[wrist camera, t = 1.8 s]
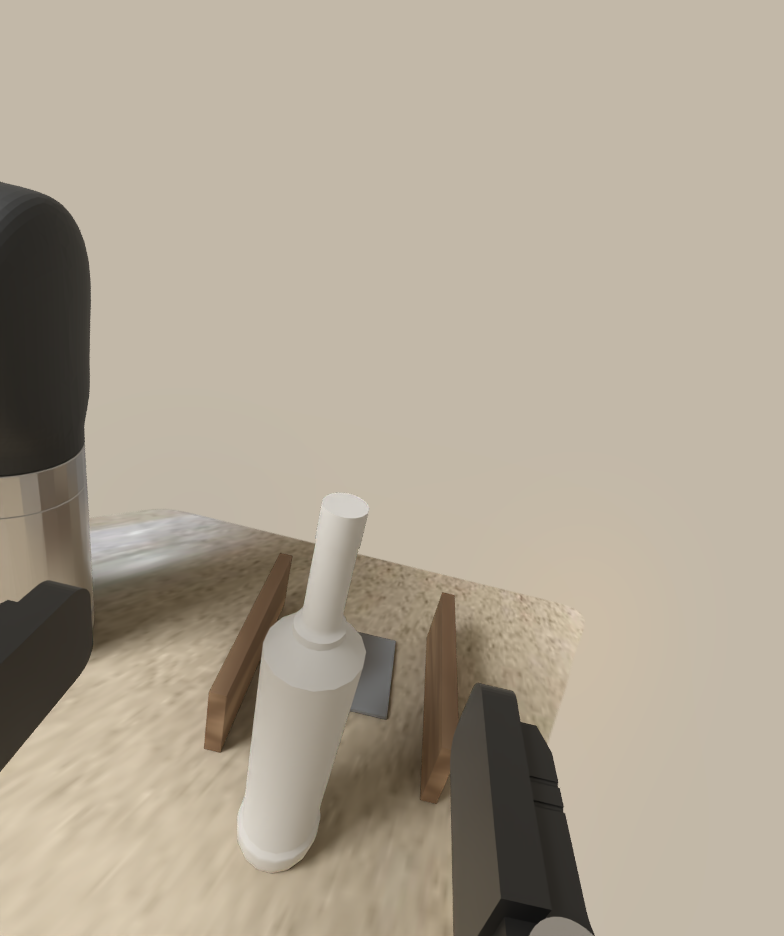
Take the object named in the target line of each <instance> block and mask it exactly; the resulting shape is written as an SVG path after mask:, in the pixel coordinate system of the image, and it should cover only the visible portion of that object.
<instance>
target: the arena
mask: <svg viewBox="0 0 784 936" xmlns="http://www.w3.org/2000/svg"><path fill="white" fill-rule="evenodd" d="M291 561H292V556H290V555H286V554H282V553H280V554H279V556H278V558H277V560H276V562H275V564H274V566H273V568H272V570H271V572H270V574H269V576H268V578H267V580H266V582H265V584H264V586H263V588H262V590H261V591H260V593H259V595H258V597H257V599H256V601H255V603H254V605H253V607H252V609H251V611H250V613H249V615H248V617H247V619H246V621H245V623H244V625H243V627H242V629H241V631H240V632H239V634H238V636H237V638H236V640H235V642H234V644H233V646H232V648H231V650H230V652H229V654H228V656H227V658H226V660H225V662H224V664H223V666H222V668H221V670H220V671H219V673H218V675H217V677H216V679H215V681H214V683H213V685H212V687H211V689H210V691H209V697H208V709H207V720H206V732H205V743H204V749H208V750H212V751H216V752H221V750H222V747H223V745H224V743H225V740H226V738H227V736H228V734H229V731H230V729H231V727H232V724H233V722H234V720H235V717H236V715H237V713H238V710H239V708H240V706H241V703H242V701H243V699H244V696H245V694H246V692H247V689H248V687H249V685H250V682H251V680H252V678H253V675H254V673H255V671H256V668H257V666H258V664H259V662H260V659H261V656H262V648H263V642H264V640H265V637H266V635H267V633H268V631H269V629H270V627H272V626H273V625H274V624H275V623H276V622H277V620H278V617H279V615H280V613H281V610H282V608H283V606H284V603H285V598H286V592H287V586H288V580H289V574H290V568H291ZM358 633H359V634H360V635H361V637H362V640H363V643H364V647H365V650H366V655H365V660H364V665H363V669H362V672H361V676H360V679H359V682H358V685H357V689H356V692H355V695H354V698H353V702H352V705H351V708H350V711H352V712H356V713H361V714H365V715H369V716H373V717H377V718H381V719H386V718H387V712H388V703H389V695H390V686H391V678H392V669H393V660H394V652H395V643H396V641H394V640H390V639H385V638H381V637H377V636H373V635H369V634H365V633H361V632H358ZM458 722H459V721H458V689H457V658H456V626H455V595H451V594H447V593H443V592H442V595H441V598H440V601H439V604H438V607H437V609H436V612H435V615H434V618H433V621H432V624H431V627H430V630H429V633H428V636H427V644H426V669H425V694H424V719H423V744H422V768H421V793H420V800H423V801H427V802H431V803H435V804H436V803H437V801H438V799H439V797H440V794H441V792H442V790H443V788H444V785H445V783H446V781H447V779H448V776H449V774H450V756H451V747H452V741H453V736H454V733H455V730H456V727H457V725H458Z"/></svg>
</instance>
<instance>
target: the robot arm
mask: <svg viewBox="0 0 784 936" xmlns="http://www.w3.org/2000/svg"><path fill="white" fill-rule="evenodd" d="M90 289H91V286H90V271H89V261H88V256H87V252H86V247H85V243H84V240H83V237H82V235H81V232H80V230H79V227H78V226H77V224H76V222H75V220H74V219H73V217H72V216H71V214H70V213H69V212H68V211H67V210H66V209H65V208H64V206H63V205H62V204H60V203H59V202H57V201H56V200H54V199H53V198H51V197H49V196H47V195H45V194H42V193H40V192H37V191H34V190H30V189H27V188H23V187H19V186H15V185H10V184H6V183H3V182H0V772H1V770H2V769H3V768H4V767H5V765H6V764H7V763H8V762H9V761H10V759H11V758H12V757H13V756H14V755H15V753H16V752H17V751H18V750H19V748H20V747H21V746H22V745H23V744H24V742H25V741H26V740H27V739H28V738H29V736H30V735H31V734H32V733H33V731H34V730H35V729H36V728H37V727H38V725H39V724H40V723H41V722H42V721H43V719H44V718H45V717H46V716H47V714H48V713H49V712H50V711H51V710H52V708H53V707H54V706H55V705H56V704H57V702H58V701H59V700H60V699H61V697H62V696H63V695H64V694H65V693H66V691H67V690H68V689H69V688H70V687H71V685H72V684H73V683H74V682H75V680H76V679H77V678H78V677H79V676H80V674H81V673H82V671H83V670H84V668H85V666H86V664H87V662H88V660H89V658H90V655H91V652H92V647H93V634H92V629H93V626H94V600H93V579H92V561H91V544H90V526H89V509H88V491H87V476H86V459H85V444H84V442H85V440H84V439H85V437H84V423H85V417H86V411H87V405H88V399H89V387H90V371H89V370H90V368H89V352H90V349H89V348H90V309H91V308H90V307H91V292H90V291H91V290H90ZM450 782H451V833H452V883H453V933H454V936H595V935H594V933H593V930H592V928H591V925H590V922H589V919H588V915H587V912H586V908H585V903H584V898H583V894H582V889H581V884H580V880H579V875H578V871H577V866H576V861H575V857H574V853H573V848H572V843H571V838H570V834H569V830H568V825H567V820H566V816H565V813H563V802H562V797H561V793H560V788H558V779H557V775H556V770H555V765H554V761H553V756H552V753H551V751H550V749H549V747H548V745H547V744H546V742H545V740H544V738H543V737H542V735H541V733H540V731H539V730H538V728H537V726H535V725H531V724H527V723H522V722H520V717H519V711H518V705H517V699H516V696H515V693H514V692H513V691H510V690H506V689H502V688H498V687H493V686H489V685H485V684H481V683H476V684H475V685H474V687H473V689H472V692H471V694H470V696H469V699H468V701H467V703H466V706H465V708H464V711H463V713H462V715H461V718H460V720H459V722H458V725H457V727H456V730H455V733H454V736H453V741H452V747H451V756H450Z"/></svg>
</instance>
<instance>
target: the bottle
mask: <svg viewBox="0 0 784 936" xmlns="http://www.w3.org/2000/svg"><path fill="white" fill-rule="evenodd" d="M368 511H369V506H368V504H367V503H366V502H365V501H364V500H363V499H362V498H359V497H357V496H355V495H352V494H348V493H332V494H328V495H327V496H325V497H324V498H323V501H322V505H321V510H320V515H319V521H318V526H317V532H316V537H315V538H316V543H315V548H314V554H313V559H312V564H311V569H310V574H309V579H308V585H307V590H306V595H305V600H304V605H303V607H302V608H301V609H300V610H299V611H298V612H296V613H293V614H290V615H287V616H285V617H282V618H281V619H280V620H279V621H277V622H276V623H275V624H274V625H273V626H272V627H270V629H269V631H268V633H267V635H266V637H265V640H264V642H263V648H262V656H261V664H260V673H259V681H258V690H257V698H256V706H255V715H254V723H253V731H252V740H251V748H250V756H249V765H248V773H247V782H246V790H245V796H244V798H243V801H242V804H241V806H240V809H239V812H238V817H237V837H238V844H239V846H240V848H241V850H242V853H243V855H244V857H245V859H246V860H247V861H248V862H249V863H250V864H251V865H253V866H254V867H255V868H256V869H257V870H261V871H265V872H269V873H276V872H280V871H285V870H288V869H289V868H291V867H292V866H294V865H295V864H296V863H298V862H299V861H300V860H302V859H303V858H304V856H305V855H306V853H307V851H308V850H309V848H310V847H311V845H312V844H313V842H314V840H315V838H316V835H317V831H318V826H319V821H320V817H321V814H320V806H321V802H322V799H323V796H324V793H325V789H326V786H327V783H328V780H329V776H330V773H331V770H332V767H333V763H334V760H335V757H336V754H337V750H338V747H339V744H340V741H341V737H342V734H343V731H344V728H345V724H346V721H347V718H348V715H349V711H350V708H351V705H352V702H353V698H354V695H355V692H356V689H357V685H358V682H359V679H360V676H361V672H362V669H363V665H364V660H365V655H366V650H365V647H364V643H363V640H362V637H361V635H360V634H359V633H358V632H357V631H356V630H355V628H354V627H353V626H352V625H351V624H350V623H348V622H347V621H346V618H345V616H344V615H343V613H344V609H345V604H346V600H347V596H348V591H349V587H350V583H351V579H352V574H353V570H354V566H355V561H356V557H357V553H358V549H359V548H360V545H361V541H362V537H363V533H364V528H365V524H366V520H367V515H368Z"/></svg>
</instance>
